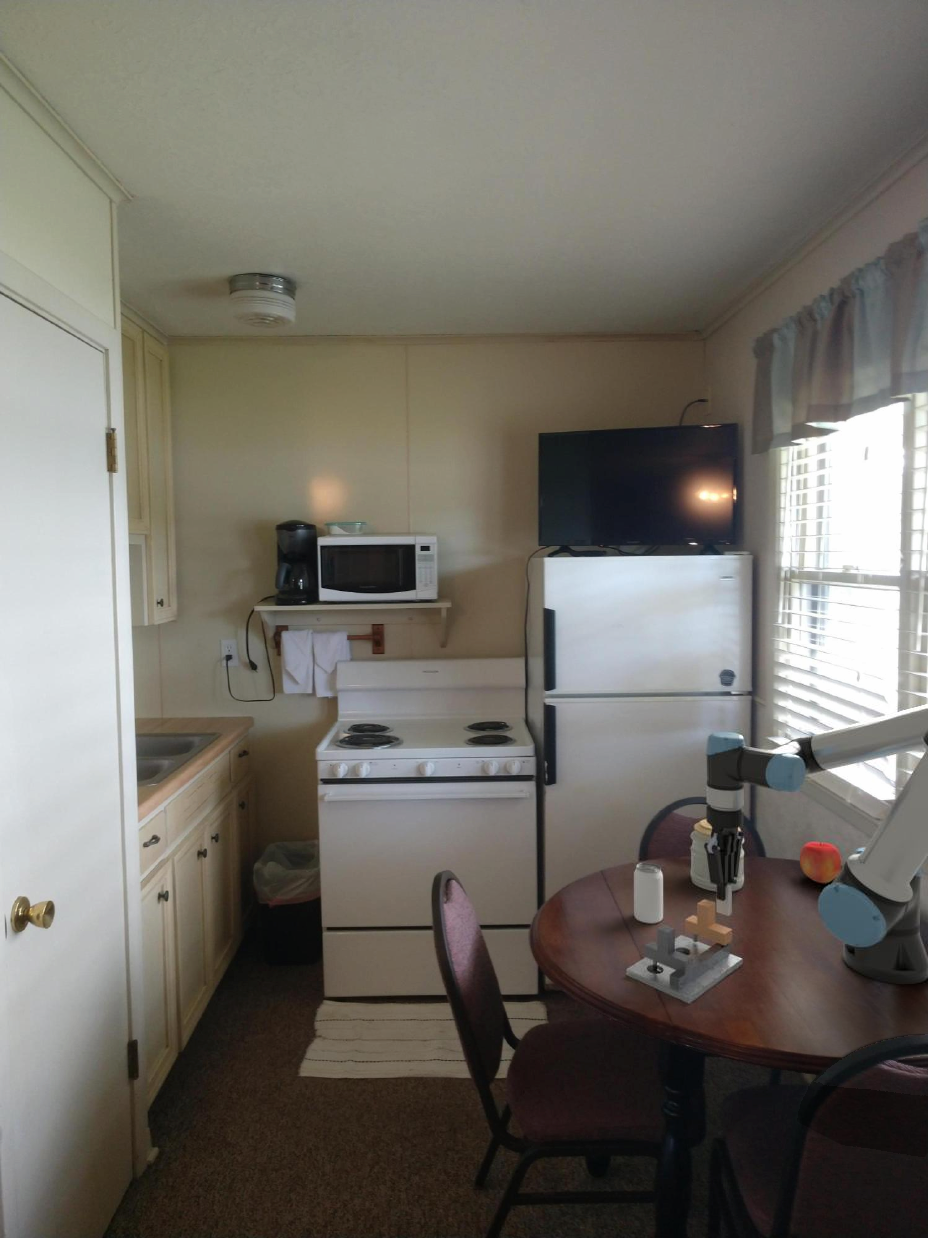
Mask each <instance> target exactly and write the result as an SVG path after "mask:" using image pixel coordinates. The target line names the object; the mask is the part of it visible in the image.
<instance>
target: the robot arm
mask: <svg viewBox="0 0 928 1238" xmlns="http://www.w3.org/2000/svg"><path fill="white" fill-rule="evenodd" d="M924 748H925V751H924V753H923V755H922V756H921V758H920V760H919V762H918V763H917V764H916V766H915V767H914V770H913V771H912V772H911V774H910V776H909V778H907V779H908V780H907V781H906V783H905V784H904V786H903V787H902V789H901V790H900V792H899V794H898V795H897V797H896V799H895V800H894V802H893V803H892V805H891V806H890V808H889V810H888V811H887V813H886V815H885V816H884V818H883V819H882V821H881V823H880V824H879V825H878V827H877V829H876V831H875V832H874V834H873V835H872V837H871V839H870V841H869V842H868V843H867V845H866V846H865V847H863V846H862V847H858V848H857V849H855V850H854V853H853V854H851V855H849V857H848V858H847V860H846V861H845V862H844V864H843V866H841V869H840V872H839V874H838V875H837V876H836V877H835V878H834V879H833V880H832V882H831V884H828V885H827V886H824V887H823V889H822V892H821V893H820V894H819V897H818V900H817V908H818V913H819V915H820V918H821V921H822V923H823V925H824V926H825V928H826V929H827V930H828V932H829V933H831V934H832V935H833V936H834V937H835V938H837V939H838V940H839V941H840V942H842V943H843V950H842V951H843V953H842V954H843V955H842V956H843V960H844V962H845V963H846V965H847V966H849V967H850V968H851V969H852V970H854V971H855V972H857V973H859V974H860V975H863V976H865V977H867V978H870V979H872V980H876V981H879V982H883V983H889V984H895V985H916V984H919V983H923V982H924V981H926V980H927V979H928V955H927V951H926V948H925V946H924V945H925V944H924V943H923V939H922V937H921V933H920V928H921V927H920V922H921V887H922V886H921V883H922V882H921V881H922V879H921V878H922V877H923V875H922V872H921V866H922V864H923V863H924V862H925V861H926V859H927V857H928V704H924V705H921V706H917V707H913V708H909V709H905V710H902V711H899V712H895V713H891V714H887V715H883V716H879V717H876V718H871V719H868V720H865V721H862V722H858V723H854V724H850V725H846V726H843V727H838V728H835V729H831V730H827V731H824V732H820V733H816V734H813V735H809V736H804V737H802V736H801V737H797V738H795V739H792V740H790V741H787V742H786V743H784V744H780V745H778V746H776V747H772V748H770V749H763V748H755V747H751V746H748V745H746V743H745V738H744V736H743V735H742V734H740V733H739V734H738V732H737V733H736V732H731V731H730V732H729V731H719V732H718V731H717V732H713V733H711V734H709V735H708V736H707V741H706V753H705V756H706V787H705V790H706V803H707V804H706V806H705V807H706V808H705V811H706V812H705V813H706V816H705V817H706V818H705V819H706V821H707V822H708V823H709V824H710V825H711V826H712V832H711V841H710V843H705V844H704V848H705V850H706V853H707V860H708V868H709V875H710V882H711V883H713V884H716V885H717V892H716V905H715V913H719V914H721V915H723V916H724V915H725V916H727V917H729V916H731V915H732V910H733V909H732V907H733V906H732V905H733V903H732V902H733V901H732V899H733V898H732V897H733V896H732V895H733V891H732V883H733V884H736V883H737V880H734V877H735V878H737V876H738V870H739V862H740V853H741V845H742V846H743V844H742V841H743V838H745V833H744V831H742V830H741V831H738V827H739V828H740V827H742V826H743V825H744V808H743V806H744V805H745V803H744V797H745V794H744V792H745V791H744V788H745V787H744V786H745V785H744V784H749V785H753V786H756V787H757V786H758V787H762V788H766V789H771V790H775V791H777V792H788V793H797V792H798V791H799V790H800V789H801V788H802V786H803V785H804V782H805V779H806V776H809V775H812V774H817V773H821V772H824V771H828V770H833V769H837V768H841V767H847V766H849V765H854V764H859V763H863V762H868V761H872V760H877V759H881V758H885V757H890V756H894V755H899V754H903V753H907V752H911V751H916V750H920V749H924Z"/></svg>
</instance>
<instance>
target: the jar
mask: <svg viewBox="0 0 928 1238" xmlns="http://www.w3.org/2000/svg"><path fill="white" fill-rule="evenodd" d="M693 829H694V830H693V831H692V832H691V834H690V838H691V840H692V845H691V846H690V852H691V853H690V857H691V858H690V860H691V862H690V863H691V866H690V867H691V868H690V877H691V881H692V883H693V884H694V885H695V886H697V887H699V888H701V889H703V890H706V891H710V892H711V891H712V892H716V893H717V885H716V884H713V883H711V882H710V875H709V868H708V860H707V853H706V850H705V848H704V844H705V843H710V841H711V832H712V826H711V825H710V824H709V823H708V822H707V821H706V818H704V819H702V820H699V822H697V823H695V824H694V825H693ZM738 831H741V832H742V830H741V828H740V827H738ZM744 843H745V837H743V841H742V845H741V853H740V862H739V870H738V876H737V878H735V877H734V880H737V883H736V884H733V883H732V892H736V891H739V890H741V889H742V888H743V886H744V882H745V873H744V856H745V851H744V849H743V844H744Z"/></svg>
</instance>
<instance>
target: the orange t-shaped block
mask: <svg viewBox="0 0 928 1238" xmlns="http://www.w3.org/2000/svg"><path fill="white" fill-rule="evenodd" d="M696 910H697V911H696V913H697V914H696V915H694V914H693V915H690V916H689V917H687V918H686V919H684V920H685V921H684V922H685V923H684V925H685V930H684V931H685V932H687V933H691V934H692V939H693V941H694V942H699V939H698V937H701V938H704V939H706V940H708V941H712V942H714V943H715V944H716V943H719V944H722V945H724V946H725V945H727V944H728V943H729V944H730V943H731V942H732V941H733V929H732V928H730V927H727V926H724V925H722V924H720V923H716V902H715V901H712V900H708V899H705V898H704V899H702V900H701V901H699V902H697V904H696Z"/></svg>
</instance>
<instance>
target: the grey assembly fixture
mask: <svg viewBox="0 0 928 1238" xmlns="http://www.w3.org/2000/svg"><path fill="white" fill-rule="evenodd" d="M675 931H676V929H675V927H672V926H669V925H667V924H662V925H660V926H659V927H657V929H656V933H657V934H656V939H657V940H656V942H655V941H650V942H648V943H646V944H645V945H644V958H642V959H640V960H639V961H637V962H635V963H634V964H633V965H631V966H629V967H628V968H626V974H625V975H626V976H628V977H630V978H632V979H635V980H637V981H638V982H641V983H642V984H643V983H644V984H646V985H647V986H650V987H652V988H655V989H656V990H658V991H661V992H663V993H664V994H667V995H670V997H673V998H676V999H679V1000H680V1001H682V1002H684V1003H687V1004H691V1003H692V1002H694V1001H695V1000H696V999H698V998H699V997H700V996H702V995H703V994H704V993H707V992H708V991H709V990H710V989H711V988H713V987H714V986H715V985H717V984H718V983H720V982H721V981H722V980H723V979H725V978H726V977H727V976H729V975H730V974H731V973H733V972H734V971H736V970H737V969H738V968H740V966H742V965H743V958H741V957H740V956H737V955H734V954H732V953H731V951H730V950H731V948H730V947H731V944H730V942H729V943H728V944H727V945H725V946H724V945H722V944H719V943H716V942H715V944H713V945H711V946H710V945H708V944H706V943H703V942H700V941H698V942H694V941H693V938H690V937H688V936H686V935H682V934H681V935H679V936H678V937H676V934H675V933H676V932H675Z"/></svg>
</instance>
